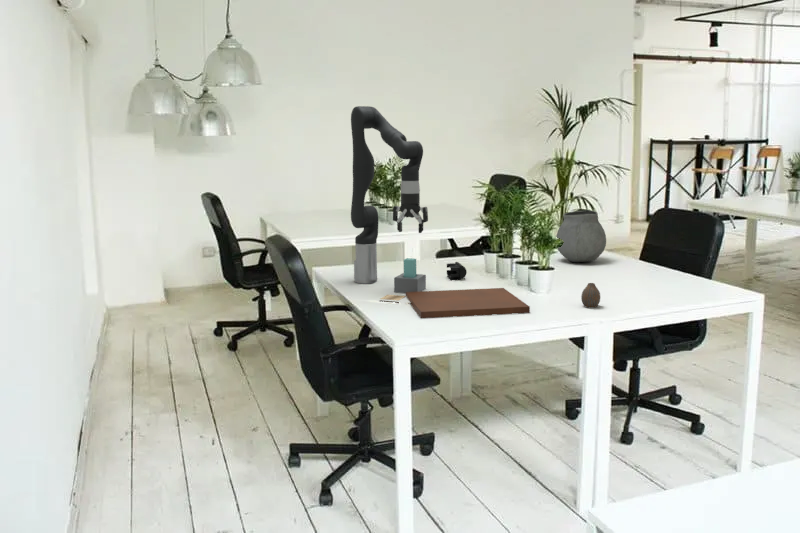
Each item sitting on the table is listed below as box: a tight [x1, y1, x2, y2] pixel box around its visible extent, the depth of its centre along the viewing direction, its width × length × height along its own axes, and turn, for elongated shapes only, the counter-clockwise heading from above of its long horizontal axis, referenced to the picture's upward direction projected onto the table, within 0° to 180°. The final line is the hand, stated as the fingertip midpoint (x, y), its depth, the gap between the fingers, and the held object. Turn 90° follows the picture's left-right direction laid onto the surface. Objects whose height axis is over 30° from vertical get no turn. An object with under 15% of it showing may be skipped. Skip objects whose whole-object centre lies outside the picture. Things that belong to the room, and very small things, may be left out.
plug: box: [403, 257, 417, 278], centre depth 306 cm, size 4×4×13 cm
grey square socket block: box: [393, 272, 427, 294], centre depth 307 cm, size 10×10×7 cm
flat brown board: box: [405, 287, 531, 319], centre depth 286 cm, size 40×3×33 cm
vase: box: [580, 282, 601, 308], centre depth 281 cm, size 7×7×9 cm
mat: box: [379, 294, 407, 304], centre depth 295 cm, size 8×8×1 cm
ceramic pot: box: [555, 210, 607, 263], centre depth 371 cm, size 24×24×25 cm
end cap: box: [446, 261, 468, 282], centre depth 336 cm, size 10×7×7 cm
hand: (410, 232), depth 303 cm, fingers open, 8 cm apart
